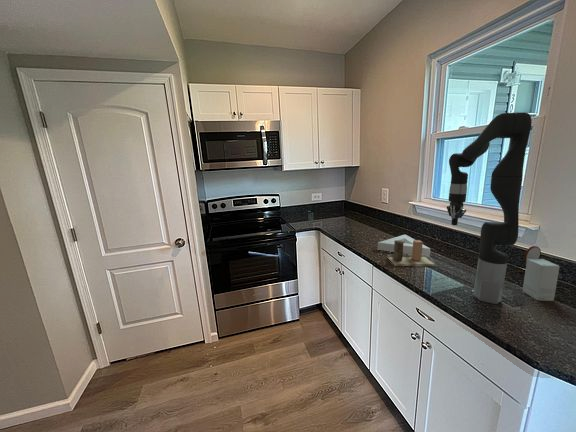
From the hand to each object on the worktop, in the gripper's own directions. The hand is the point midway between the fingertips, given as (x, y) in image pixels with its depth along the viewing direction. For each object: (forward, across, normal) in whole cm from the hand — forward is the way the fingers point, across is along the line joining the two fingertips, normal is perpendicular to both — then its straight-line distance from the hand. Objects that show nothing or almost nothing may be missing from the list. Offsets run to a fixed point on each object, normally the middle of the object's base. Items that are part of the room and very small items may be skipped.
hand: (454, 224), depth 132 cm
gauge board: (+24, -8, -18) cm, 31 cm away
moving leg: (+22, -9, -15) cm, 28 cm away
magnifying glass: (+25, +23, +20) cm, 39 cm away
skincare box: (+25, +30, +18) cm, 43 cm away
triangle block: (+24, -32, -11) cm, 42 cm away
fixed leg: (+22, -9, -25) cm, 35 cm away
